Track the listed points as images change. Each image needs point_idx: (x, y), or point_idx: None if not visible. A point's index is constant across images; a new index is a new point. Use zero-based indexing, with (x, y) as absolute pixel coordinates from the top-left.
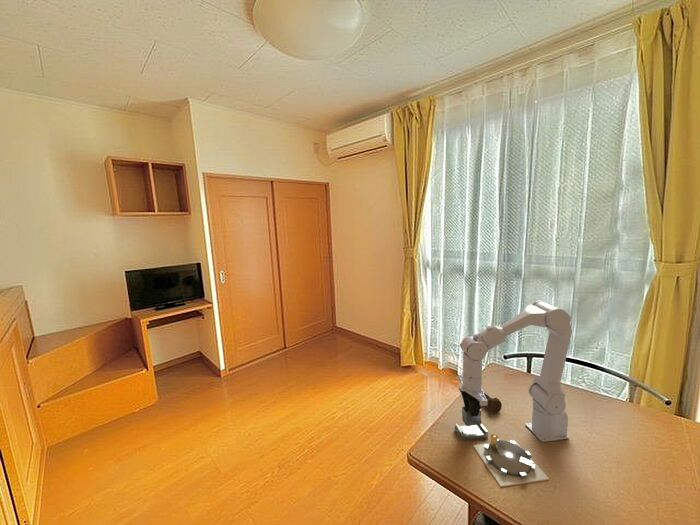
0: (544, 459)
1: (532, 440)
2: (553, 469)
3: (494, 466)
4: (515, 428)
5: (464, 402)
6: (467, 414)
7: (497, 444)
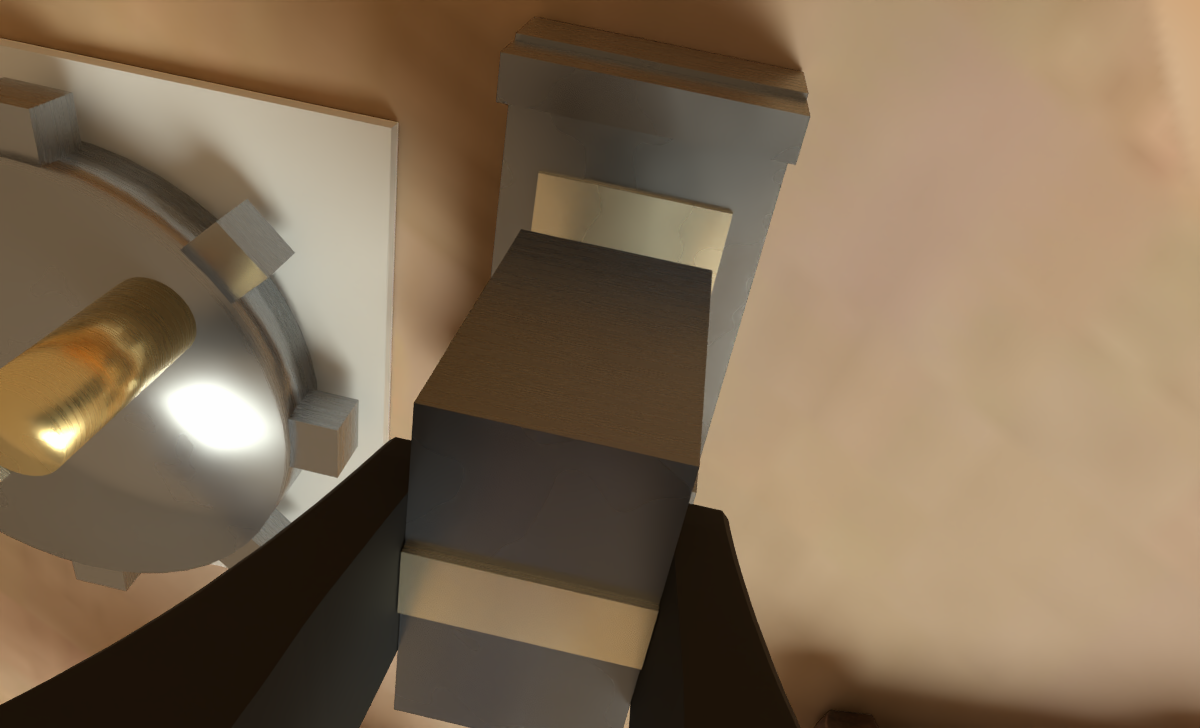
0: (147, 618)
1: None
2: (44, 592)
3: None
4: None
5: (705, 637)
6: (431, 392)
7: (216, 402)
